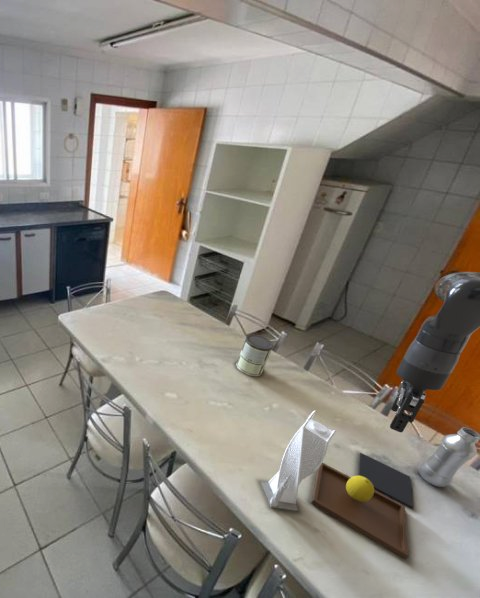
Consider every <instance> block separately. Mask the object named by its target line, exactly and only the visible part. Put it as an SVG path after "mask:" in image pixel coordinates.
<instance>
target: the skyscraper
mask: <svg viewBox="0 0 480 598" xmlns="http://www.w3.org/2000/svg"><path fill="white" fill-rule="evenodd" d="M316 413H317V410H313V411H312V412H311V413H310V414H309V416H308V418H306V420H305V421H304V423H303V424H302V425H301V426H300V428H299V429H298V430H297V431H296V432H295V434H294V435H293V437H292V438H291V439H290V441H289V443H288V444H287V446H286V449H285V451H284V453H283V456H282V459H281V463H280V466H279V469H278V471H277V473H275V474H274V475H273V476H272V477H271V478H270V480H268V482H267V481H260V484H261V487H262V489H263V492H264V494H265V496H266V499H267V501H268V504H269V507H270V508H272V509H279V510H285V511H293V512H299V509H298V507H297V497H298V491H299V486H300V484H301V482H302V481H303V480H305V479H306V478H308V477H310V476H311V475H313V474H314V473H315V472H317V469H318V468H319V467H320V466H321V464H322V463H324V460H325V458H326V455H327V452H328V448H329V443H330V441H331V440H332V438H333V437H334V436H335V434H336V433H337V431H336V429H333V430H332V429H330V428H329V427H327V426H325V425H324V424H322V423H321V422H318V421H317V420H315V419H314V416H315V414H316Z"/></svg>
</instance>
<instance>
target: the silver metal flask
mask: <svg viewBox="0 0 480 598" xmlns="http://www.w3.org/2000/svg"><path fill="white" fill-rule="evenodd" d="M479 441H480V434H479V433H478V432H477V431H475V430H474V429H471V428H469V427H464V426H463V427H461V428H460V429H458V431H456V433H449V434H445V435H444V436H443V437H442V438H441V440H440V442H439V445H438V447H437V448H436V450H435V451H434V453H433V454H431V456H429V458H428V459H426V460H424V461H422V462H421V463H420V464H419V467H418V468H417V469H418V470H417V471H418V473H419V475H420V477H421V478H422V479H423V480H424V481H426V482H427V483H428V484H430V485H433V486H435V487H439V488H445V487H447V486H449V485H450V484H451V483H452V482H453V479H454V476H455V475H456V474H457V472H458V470H459V469H460V468H461V467H462V466H463V465H465V464H466V463H468V462H469V461H470V460H472V459H473V458H474V457H475V456H477V452H478V449H477V446H476V444H478V443H479Z"/></svg>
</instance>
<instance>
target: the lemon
mask: <svg viewBox="0 0 480 598" xmlns="http://www.w3.org/2000/svg"><path fill="white" fill-rule="evenodd" d="M350 477H351V478H350V479H349V480H348V481H347V483H346V490H347V492H348V494H349V495H350V496H351V497H352V498H353V499H355V500H357V501H360V502H366V501H368V500H370V499H371V498H372V497H373V495H374V490H375V489H374V486H373V484H372V483H371V482H370V481H369V480H368V479H367V478H365V477H363V476H358V475H354V476H350Z"/></svg>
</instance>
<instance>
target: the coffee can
mask: <svg viewBox="0 0 480 598" xmlns="http://www.w3.org/2000/svg"><path fill="white" fill-rule="evenodd" d="M273 349H274V343H273V342H272V341H271V340H270V339H269V338H268V337H265V336H262V335H259V334H254V333H253V334H251V333H250V334H248V335H247V334H246V336H245V340H244V342H243V345H242V348H241V351H240V354H239V356H238V359H237V362H236V363H235V364H236V368H237V369H238V371H240V372H241V373H243V374H245V375H248V376H250V377H259V376H262V374H263V371H264V369H265V366H266V364H267V361H268V359H269V357H270V356H271V352H272V350H273Z"/></svg>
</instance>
